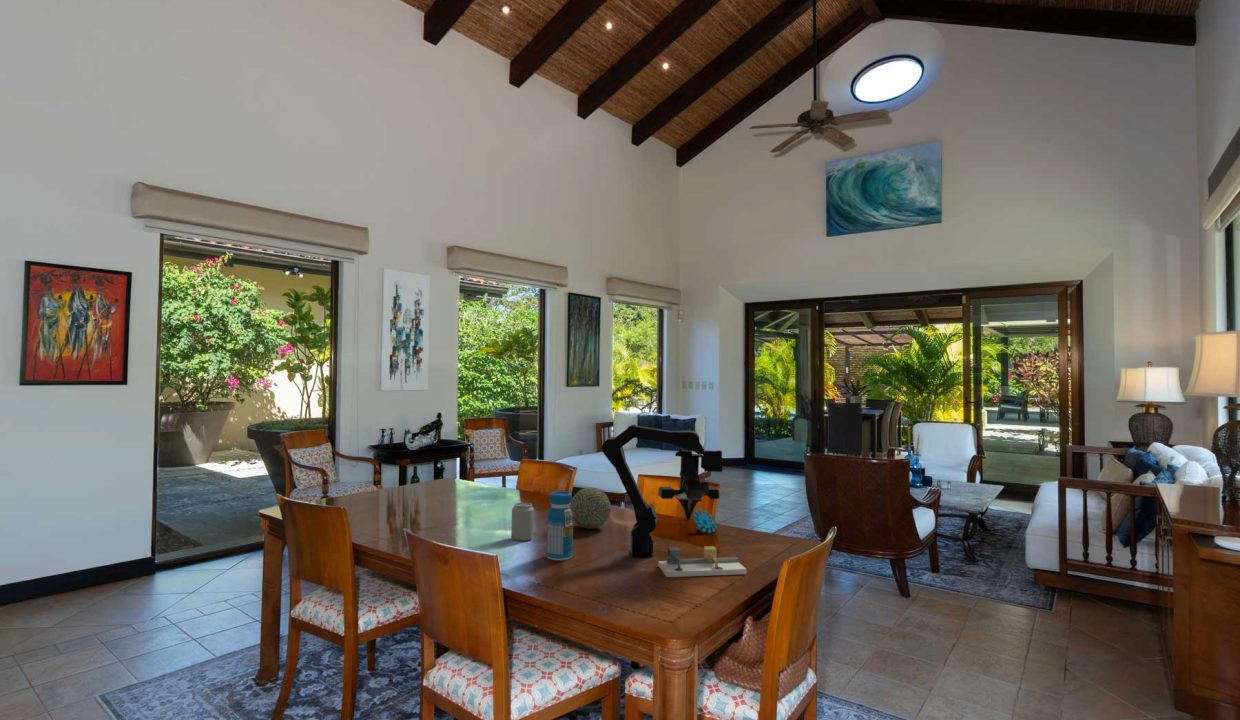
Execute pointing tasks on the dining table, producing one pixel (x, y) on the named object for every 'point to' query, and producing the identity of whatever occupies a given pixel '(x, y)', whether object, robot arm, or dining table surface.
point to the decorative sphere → (590, 508)
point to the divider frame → (675, 558)
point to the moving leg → (711, 554)
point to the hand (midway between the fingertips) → (687, 519)
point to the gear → (704, 521)
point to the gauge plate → (701, 569)
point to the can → (522, 521)
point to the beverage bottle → (560, 527)
